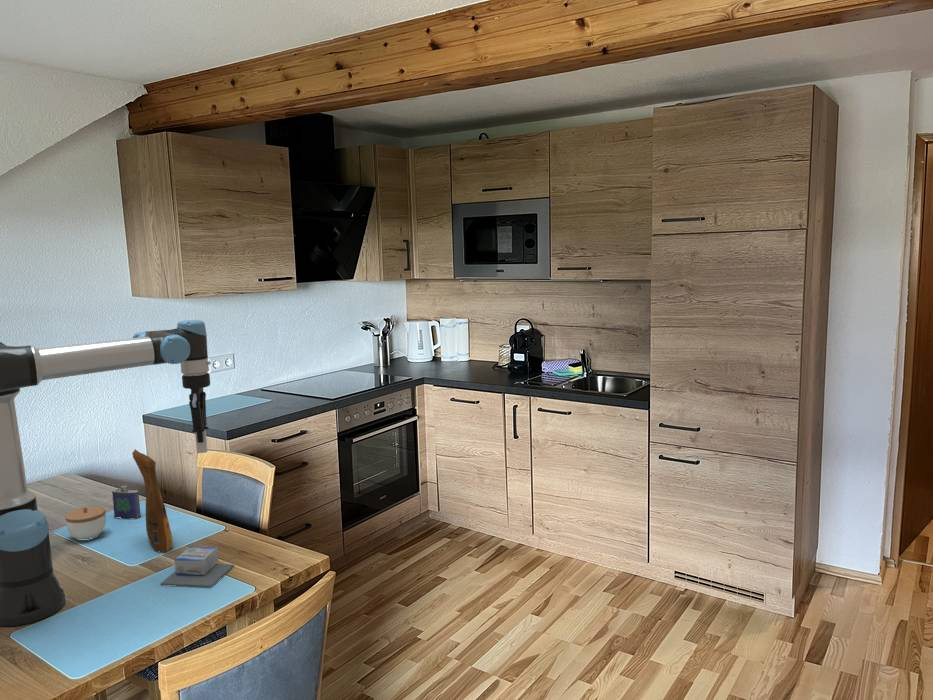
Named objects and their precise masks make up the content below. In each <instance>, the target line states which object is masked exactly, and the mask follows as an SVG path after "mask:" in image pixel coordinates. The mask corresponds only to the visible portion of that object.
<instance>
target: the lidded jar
mask: <svg viewBox="0 0 933 700" xmlns="http://www.w3.org/2000/svg"><path fill="white" fill-rule="evenodd" d="M106 510H107V509H106V508H105V507H102V506H84V507H82V508H77V509H75V510H72V511H70V512H68V513H67V514H66V515H65V521H66V529H67V531H68V533H69V534H70V535H71V536H72V537H73V538H74V539H76V540H77V539H90V538H94V537H96V536H98V535H99V534H101V533H102V532H103V531H104V530H105V526H106V522H107V517H106ZM99 536H100V535H99ZM99 536H98V537H99Z"/></svg>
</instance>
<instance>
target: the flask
mask: <svg viewBox="0 0 933 700" xmlns="http://www.w3.org/2000/svg"><path fill="white" fill-rule="evenodd" d="M111 494H112V502H113V503H112V505H113V515H114V517H113V518H115V517H121V518H124V519H125V518H135V519H138V518H137V517H140V516H142V515H141V514H142V513H141V506H140V496H139V495H140V493H139V490H135V489H134V490H132V489H130V490H129V489H128V485H126V484H125V485H121V486H120V488H116V489H113V490H112V492H111ZM140 518H141V517H140Z"/></svg>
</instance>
